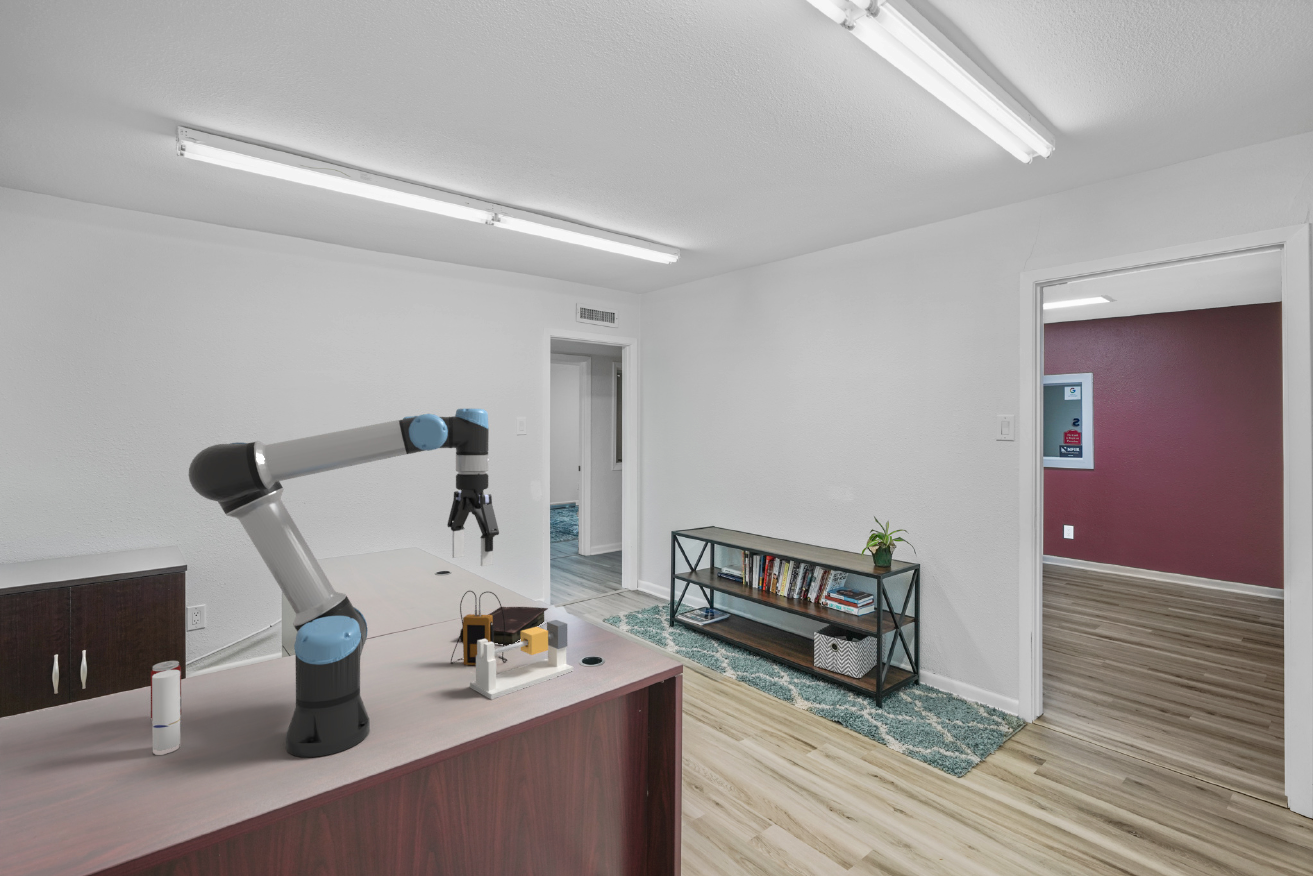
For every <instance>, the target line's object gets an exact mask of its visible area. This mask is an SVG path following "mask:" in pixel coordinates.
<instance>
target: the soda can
mask: <svg viewBox="0 0 1313 876" xmlns="http://www.w3.org/2000/svg"><path fill="white" fill-rule="evenodd" d="M168 670H179V671H180V712H181V713H182V667H181V665H180V662H179V661H178V660H169V661H162V662H159V663H156V664H154V665H152V670H151V671H150V719H151V718H152V676H153V675H154V674H156V673H159V672H163V671H168Z"/></svg>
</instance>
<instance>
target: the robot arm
mask: <svg viewBox="0 0 1313 876" xmlns="http://www.w3.org/2000/svg"><path fill="white" fill-rule="evenodd" d="M489 430H490V427H489V413H488V411H487V410H485V409H483V408H458V409H456V411H455V414H454V416H438V415H436V414H435V413H434V414H432V413H426V414H420V415H413V416H411V415H410V416H405V417H403V418H402V419H397V420H396V419H395V420H391V421H387V422H380V423H376V424H375V423H374V424H371V425H366V426H360V427H355V428H348V429H344V430H338V431H334V432H328V433H323V434H317V435H312V436H308V437H302V438H296V439H291V440H286V441H280V442H276V443H269V444H265V443H263V442H261V441H253V442H231V443H218V444H214V445H210V446H208V447H206V448H204V449H202V450H201V451H200V452H198V453H197V454H196V456H194V457H193V459H192V461H190V462H191V463H190V464H189V468H188V479H189V482H190V485H191V487H192V489H194V491H195V492H196V493H197V494H199V496H201V497H203V498H206V499H207V500H210V501H213V502H218V504H219V506H220V507H221V509H222V510H223V513H224V514H225V516H227V517H231V518H235V519H237V520H238V521H239V523H240V524H241V525H242V527H243V529H244V531H245V532H246V534H247V535H248V537H249V538H250V541H251V542H252V544H253V545H254V547H255V549H256V550H257V552H258V553H259V556H261V559H262V560H263V561H264V563H265V565H266V567H267V568H268V570H269V571H270V573H271V575H272V577H273V578H274V580H275V582H276V583H277V585H278V586H279V588H280V589H281V591H282V593H283V595H284V597H286V600H287V601H288V603H289V604H290V606H291V608H292V609H293V611H294V613H295V617H294V620H293V623H292V624H293V625H292V626H293V627H294V629H295V630H296V632H297V633H296V636H295V642H294V645H293V646H294V652H295V653H294V654H295V707H294V711H293V714H292V717H291V720H290V723H289V726H288V728H287V732H286V735H285V750H286V752H288V753H289V754H291V755H292V756H295V757H303V758H312V757H313V758H315V757H323V756H328V755H333V754H337V753H340V752H343V751H346V750H349V749H350V748H352V747H354V746H356V745H358V744H360V743H361V742H363V741H364V740H366V738H367V737H368V735H369V734H370V730H371V729H370V717H369V715H368V712H367V709H366V707H365V703H364V702H363V699H362V696H361V655H362V652H363V649H364V646H365V644H366V642H367V639H368V638H367V637H368V630H369V629H368V624H367V620H366V618H365V616H364V615H363V613H362V612H361V611H360V610H359V609H358V608H356V607H354V606H353V604H352V602H351V601H350V599H349V597H348V595H347V594H346V593H343V592H337V591H336V589H334V586H333V585H332V584H331V582H330V580H329V578H328V577H327V575H326V573H325V572H324V570H323V568H322V566H321V565H320V563H319V562H318V560H317V558H316V557H315V555H314V553H313V552H312V550H311V548H310V546H309V545H308V543H307V542H306V540H305V538H304V536H303V535H302V533H301V531H300V530H299V528H298V527H297V524H296V523H295V521H294V519H293V518H292V516H291V514H290V513H289V511H288V509H287V508H286V506H285V504H284V502H283V501H282V500H281V499H282V495H283V492H284V489H285V488H284V487H283V486H282V484H281V482H282V481H285V480H291V479H296V478H301V477H304V476H305V477H306V476H309V475H315V474H319V473H324V472H330V471H334V470H338V469H343V468H347V467H349V468H350V467H352V466H357V465H361V464H362V465H363V464H367V463H371V462H376V461H377V462H378V461H381V460H386V459H390V458H396V457H400V456H405V455H409V454H415V453H420V452H421V453H422V452H425V451H427V452H428V451H434V450H438V449H455V471H456V472H457V473H456V475H455V488H456V489H457V490H456V491H454V492H453V501H452V505H451V509H450V513H449V516H448V521H447V524H446V525H447V527H448V528H450V531H452V558H453V559H456V558H458V559H459V558H464V557H465V527H464V526H465V522H466V521H467V518H468V517H469V514H470V513H471V514H472V515H473V516H474V517H475V520H476V522H477V525H478V528H479V529H480V532H481V536H480V566H481V567H486V566H493V565H494V556H493V555H494V537H495V536H499V534H500V531H499V526H498V523H497V522H498V521H497V518H496V514H495V511H494V506H493V501H492V500H493V497H492V494H489V493H488V494H485V493H484V490H487V489H488V488H489V474H488V473H486V472H488V471H489V462H490V459H489V440H490V439H489Z"/></svg>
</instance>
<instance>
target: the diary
mask: <svg viewBox="0 0 1313 876" xmlns="http://www.w3.org/2000/svg"><path fill="white" fill-rule="evenodd" d="M548 609H549V608H548V607H536V606H535V607H532V606H502V610H503V614H504V620H505V637H504V620H503V614H502V610H501V606H499V607H498V608H496V609H495V610H493V611H492V612H490V613H488V614H487V615H492V616H493V629H494V643H498V644H503V637H504V645H509V644H515V642H517V641H518V640H520V639H521V631H522V630H526V629H530V628H534V627H537V626H539V625H540V624H542V623H543V622H544V621H545V612H546V611H547V610H548ZM461 631H462V628H461V629H460V633H461ZM460 633H459V634H460ZM459 636H460V635H459ZM459 641H460V642H461V643H463V631H462V633H461V636H460V639H459ZM519 642H520V641H518V642H517V643H519Z"/></svg>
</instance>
